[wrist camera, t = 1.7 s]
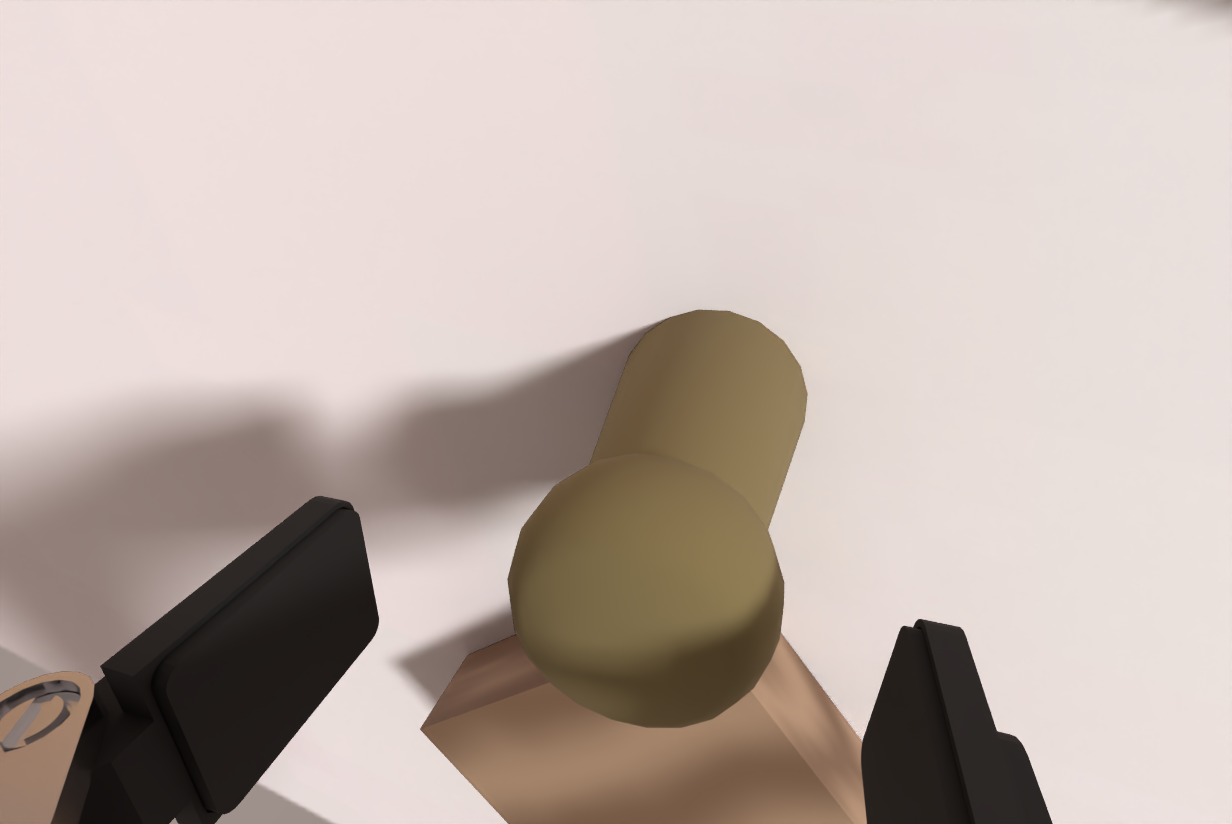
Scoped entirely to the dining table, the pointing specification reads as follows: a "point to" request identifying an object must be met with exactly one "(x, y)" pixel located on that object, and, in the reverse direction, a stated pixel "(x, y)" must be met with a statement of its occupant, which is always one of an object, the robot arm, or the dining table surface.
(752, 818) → the walnut plinth
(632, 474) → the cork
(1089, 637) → the dining table surface
